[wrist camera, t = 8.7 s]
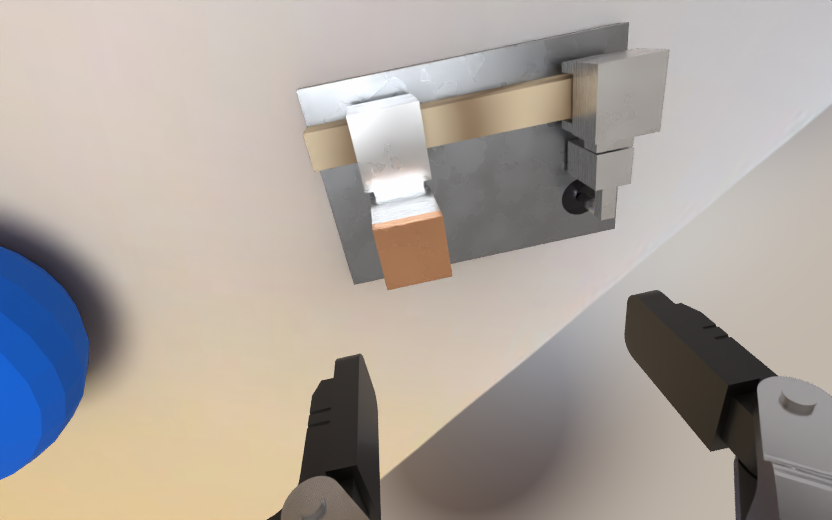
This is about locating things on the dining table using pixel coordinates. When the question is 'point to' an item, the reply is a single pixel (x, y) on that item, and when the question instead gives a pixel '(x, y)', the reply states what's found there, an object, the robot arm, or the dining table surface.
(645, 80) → the fixed leg
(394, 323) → the dining table surface
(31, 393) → the vase
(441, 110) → the divider rail
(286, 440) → the dining table surface
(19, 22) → the dining table surface
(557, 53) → the bolt plate
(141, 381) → the dining table surface
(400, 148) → the slide leg
